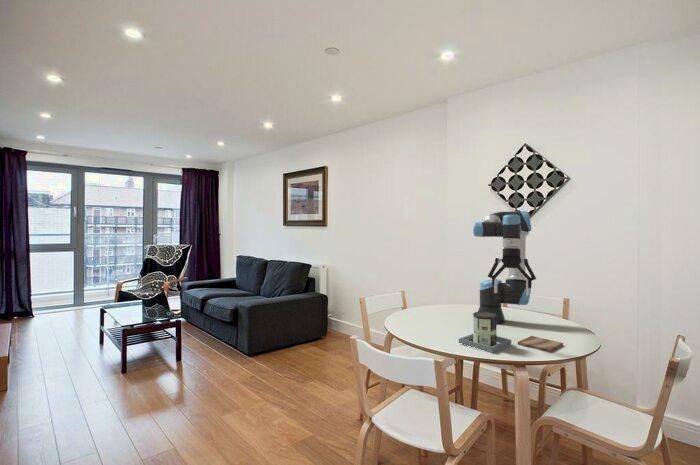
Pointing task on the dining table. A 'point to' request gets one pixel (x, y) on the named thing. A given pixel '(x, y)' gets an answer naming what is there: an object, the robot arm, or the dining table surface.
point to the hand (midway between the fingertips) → (511, 294)
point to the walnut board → (540, 343)
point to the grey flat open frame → (503, 343)
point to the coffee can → (485, 328)
